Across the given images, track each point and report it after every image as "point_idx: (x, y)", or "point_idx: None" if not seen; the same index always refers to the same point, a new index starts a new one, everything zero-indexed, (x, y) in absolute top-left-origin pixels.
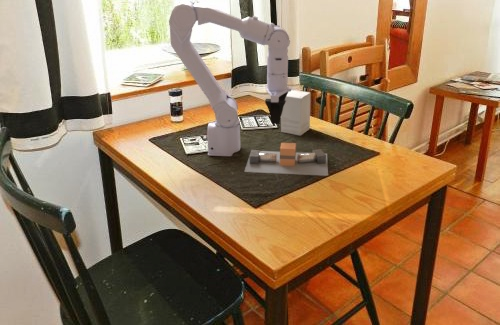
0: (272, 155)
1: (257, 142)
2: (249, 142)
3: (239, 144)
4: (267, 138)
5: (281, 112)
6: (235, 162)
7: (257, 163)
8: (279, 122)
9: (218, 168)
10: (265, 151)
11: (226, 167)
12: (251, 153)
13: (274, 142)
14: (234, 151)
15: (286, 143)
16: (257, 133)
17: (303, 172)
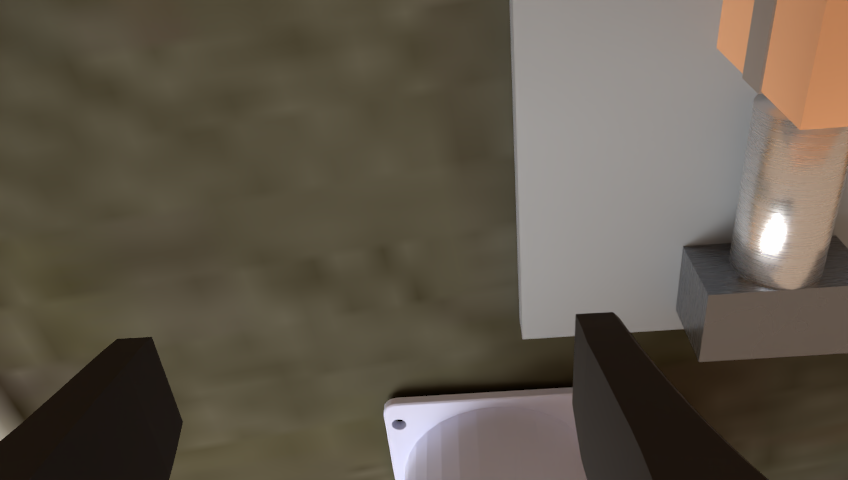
0: (843, 157)
1: (259, 317)
2: (280, 371)
3: (522, 454)
4: (131, 257)
5: (657, 445)
6: (700, 386)
7: (839, 247)
8: (622, 322)
9: (803, 457)
10: (527, 227)
11: (790, 419)
12: (792, 348)
13: (204, 181)
14: (575, 442)
15: (840, 56)
16: (53, 352)
17: None
